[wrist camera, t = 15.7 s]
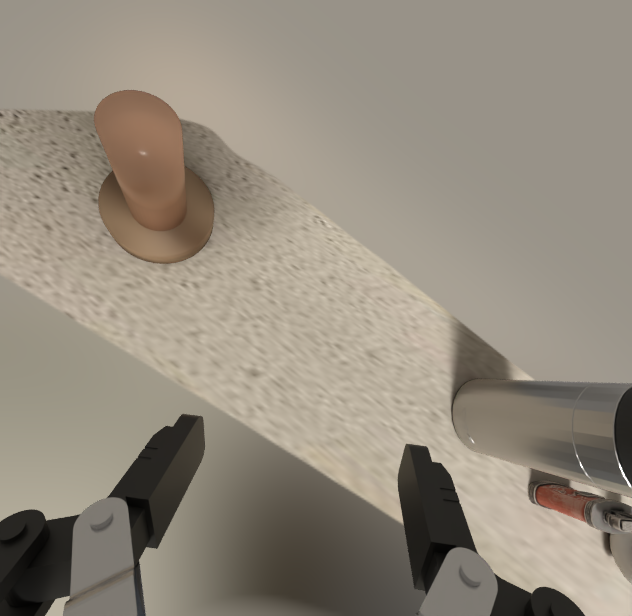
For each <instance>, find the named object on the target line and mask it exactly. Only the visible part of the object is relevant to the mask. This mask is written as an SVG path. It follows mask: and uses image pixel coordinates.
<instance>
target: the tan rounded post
mask: <svg viewBox="0 0 632 616" xmlns="http://www.w3.org/2000/svg"><path fill="white" fill-rule="evenodd" d="M94 123H95V127H96V130H97V133H98V135H99V138H100V140H101V142H102V145H103V147H104V150H105V152H106V154H107V157H108V159H109V162H110V164H111V167H112V169H113V171H114V174H115V176H116V179H117V181H118V183H119V186H120V188H121V191H122V193H123V195H124V198H125V200H126V203H127V205H128V207H129V210H130V212H131V214H132V216H133V218H134V219H135V220H136V221H137V222H138V223H139V224H140V225H142V226H143V227H145V228H148V229H150V230H154V231H167V230H171V229H173V228H175V227H177V226H178V225H180V224H181V223H182V222H183V220H184V219H185V216H186V213H187V202H186V186H185V170H184V154H183V137H182V126H181V123H180V120H179V118H178V116H177V114H176V113H175V112H174V110H173V109H172V108H171V107H170V106H169V105H168V104H167V103H165V102H164V101H163V100H161V99H160V98H158V97H156V96H154V95H151V94H149V93H146V92H142V91H136V90H124V91H119V92H115V93H113V94H110V95H108V96H107V97H105V98H104V99H103V100H102V101H101V102H100V103H99V105H98V106H97V108H96V111H95V115H94Z"/></svg>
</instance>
